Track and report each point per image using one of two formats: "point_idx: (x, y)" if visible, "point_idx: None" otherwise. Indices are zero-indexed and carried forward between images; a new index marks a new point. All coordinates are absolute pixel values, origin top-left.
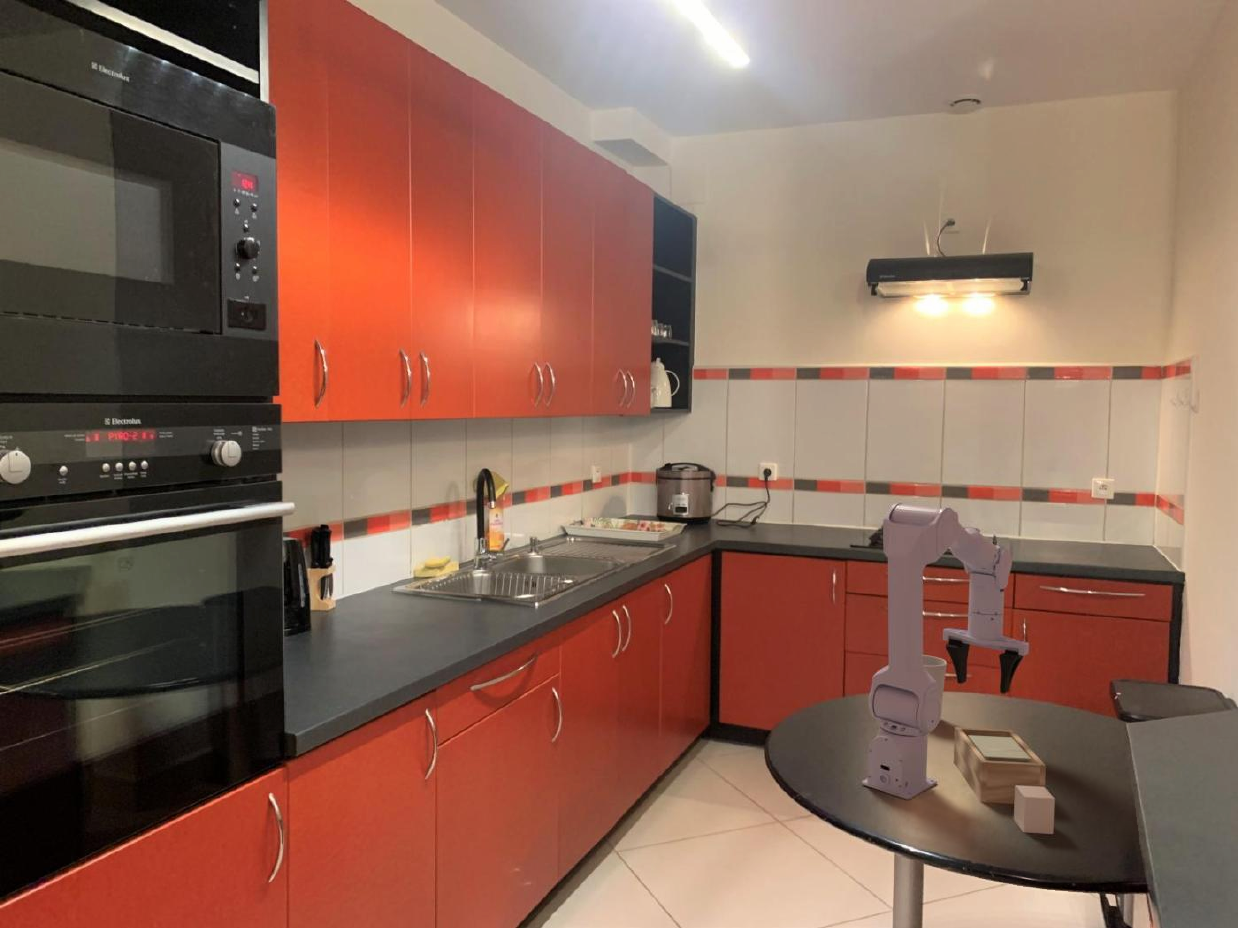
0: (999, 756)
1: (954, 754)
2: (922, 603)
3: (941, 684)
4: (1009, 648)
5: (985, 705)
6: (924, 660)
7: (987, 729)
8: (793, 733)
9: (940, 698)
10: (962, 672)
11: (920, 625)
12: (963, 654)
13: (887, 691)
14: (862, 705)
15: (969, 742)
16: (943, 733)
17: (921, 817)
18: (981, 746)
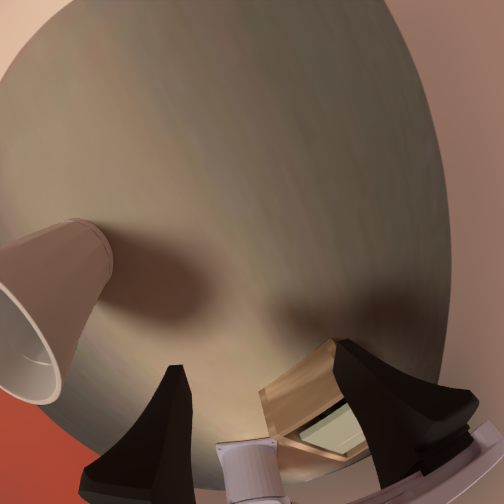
0: (357, 444)
1: (262, 402)
2: None
3: (78, 309)
4: (431, 480)
5: (118, 27)
6: None
7: (319, 410)
8: (72, 429)
9: (91, 280)
10: (186, 417)
11: None
12: (180, 477)
13: None
14: None
15: (314, 450)
16: (158, 298)
17: (298, 466)
18: (331, 445)
